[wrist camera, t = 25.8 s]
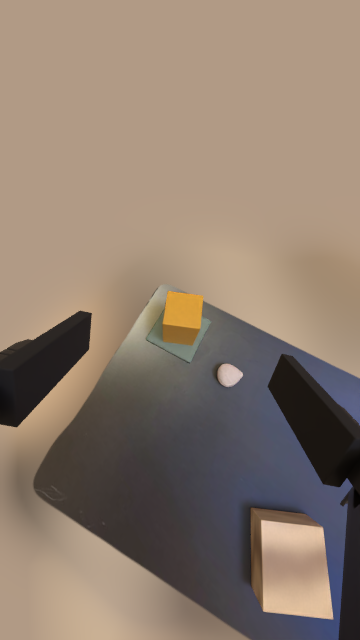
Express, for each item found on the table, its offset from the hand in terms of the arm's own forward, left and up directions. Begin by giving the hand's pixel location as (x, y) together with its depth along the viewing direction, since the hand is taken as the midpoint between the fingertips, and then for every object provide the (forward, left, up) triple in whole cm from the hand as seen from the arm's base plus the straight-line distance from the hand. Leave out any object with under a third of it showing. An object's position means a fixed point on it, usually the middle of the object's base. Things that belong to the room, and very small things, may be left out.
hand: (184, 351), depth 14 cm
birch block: (+9, -27, -27) cm, 40 cm away
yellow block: (+5, +10, -27) cm, 29 cm away
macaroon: (+11, -1, -28) cm, 30 cm away
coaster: (+4, +10, -27) cm, 30 cm away
